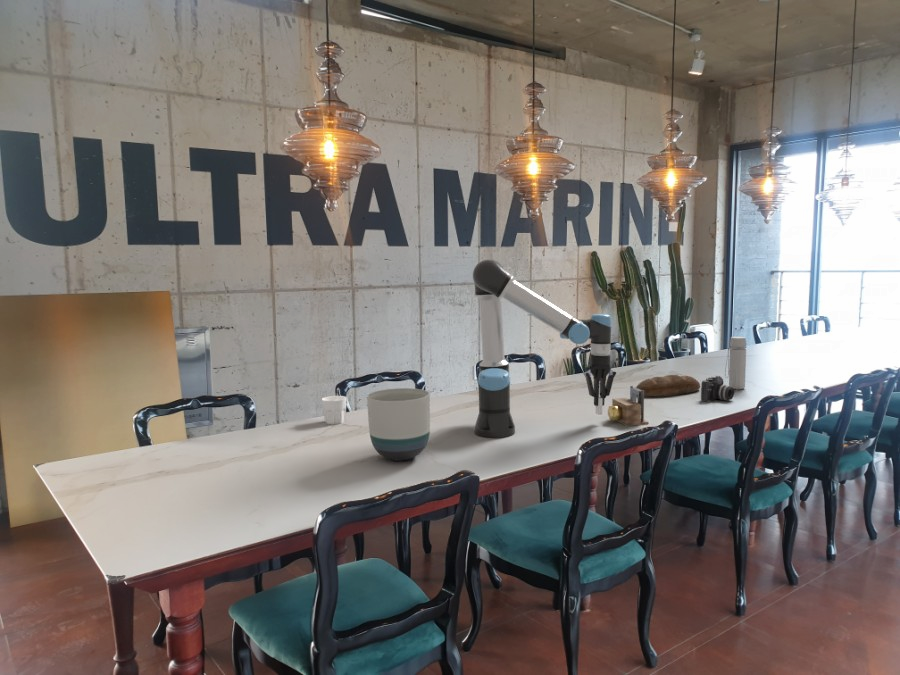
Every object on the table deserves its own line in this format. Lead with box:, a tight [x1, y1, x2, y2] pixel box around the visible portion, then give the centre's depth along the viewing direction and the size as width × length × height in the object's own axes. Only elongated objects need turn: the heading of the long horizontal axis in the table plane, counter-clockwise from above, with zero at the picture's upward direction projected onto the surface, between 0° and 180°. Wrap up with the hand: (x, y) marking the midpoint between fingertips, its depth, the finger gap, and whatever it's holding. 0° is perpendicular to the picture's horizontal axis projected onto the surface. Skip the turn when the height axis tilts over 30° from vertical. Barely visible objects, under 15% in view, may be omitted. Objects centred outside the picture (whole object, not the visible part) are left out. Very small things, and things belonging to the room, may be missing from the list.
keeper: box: [631, 387, 641, 404], centre depth 239 cm, size 2×7×6 cm, turn 11°
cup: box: [321, 395, 347, 425], centre depth 250 cm, size 10×10×10 cm
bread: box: [635, 374, 701, 398], centre depth 290 cm, size 16×36×8 cm, turn 114°
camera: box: [700, 375, 735, 402], centre depth 272 cm, size 14×11×10 cm
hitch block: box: [611, 385, 649, 426], centre depth 239 cm, size 9×12×13 cm
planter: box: [366, 387, 431, 462], centre depth 200 cm, size 20×20×21 cm
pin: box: [607, 405, 623, 421], centre depth 239 cm, size 12×6×6 cm, turn 101°
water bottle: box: [724, 336, 747, 390], centre depth 295 cm, size 9×8×25 cm
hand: (598, 413), depth 237 cm, fingers closed
